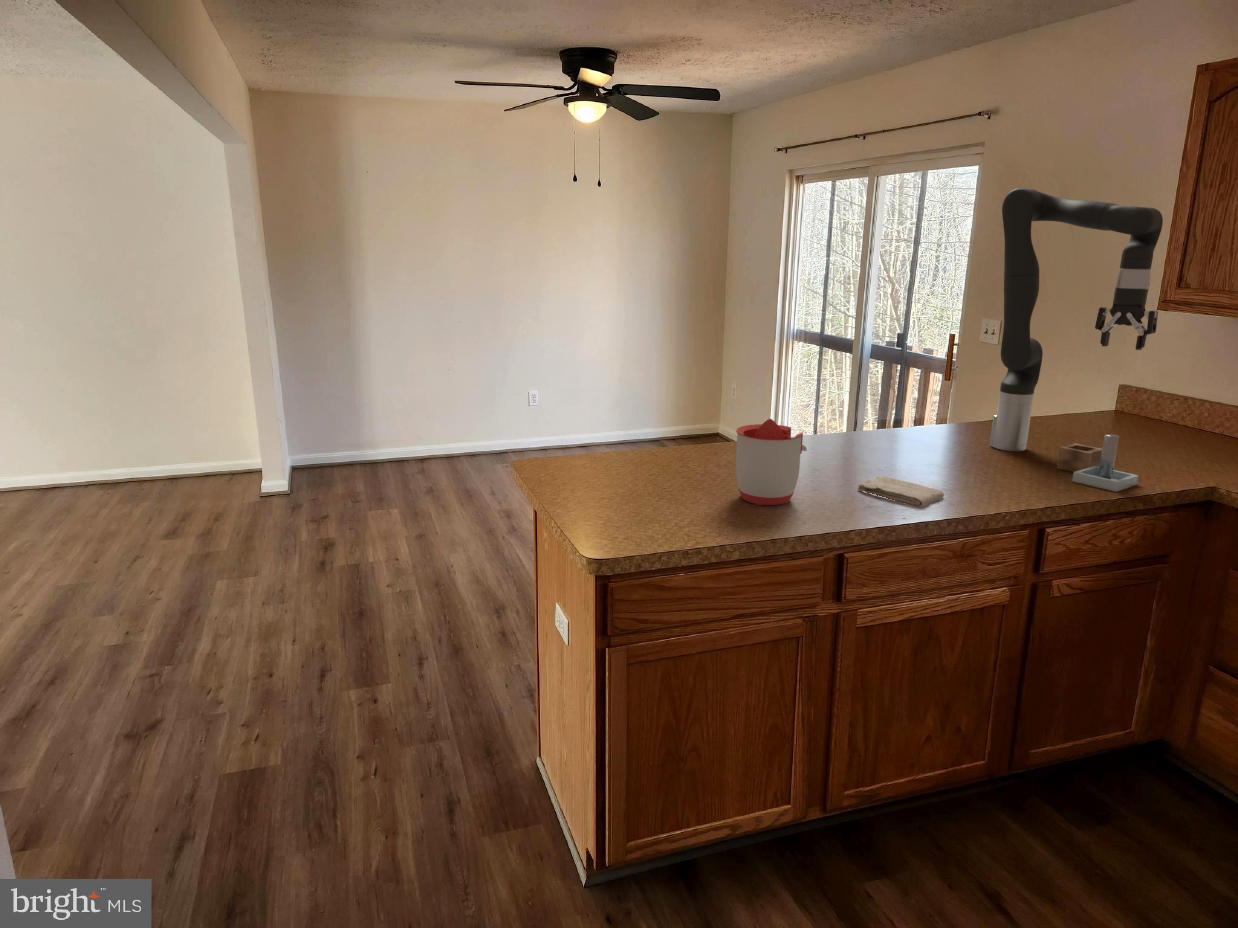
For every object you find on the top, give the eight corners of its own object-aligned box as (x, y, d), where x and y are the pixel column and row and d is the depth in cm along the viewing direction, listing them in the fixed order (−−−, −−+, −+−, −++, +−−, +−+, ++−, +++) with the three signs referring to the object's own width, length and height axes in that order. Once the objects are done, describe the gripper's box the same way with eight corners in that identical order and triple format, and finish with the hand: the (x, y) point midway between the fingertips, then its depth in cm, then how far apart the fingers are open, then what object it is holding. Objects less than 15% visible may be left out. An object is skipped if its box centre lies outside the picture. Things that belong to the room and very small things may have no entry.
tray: (1072, 481, 213) (1073, 472, 212) (1092, 474, 219) (1094, 465, 218) (1116, 491, 204) (1118, 482, 203) (1136, 484, 210) (1138, 475, 209)
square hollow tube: (1056, 468, 225) (1059, 447, 223) (1071, 463, 229) (1074, 443, 228) (1086, 474, 219) (1089, 453, 217) (1100, 470, 223) (1104, 449, 221)
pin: (1094, 480, 212) (1102, 435, 209) (1100, 478, 213) (1108, 433, 210) (1107, 482, 209) (1115, 437, 206) (1113, 481, 211) (1121, 436, 208)
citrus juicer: (817, 505, 192) (823, 423, 187) (750, 512, 187) (754, 427, 182) (785, 486, 206) (790, 410, 201) (722, 492, 202) (726, 413, 196)
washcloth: (879, 484, 211) (880, 472, 210) (945, 500, 198) (947, 488, 198) (854, 493, 203) (855, 481, 202) (922, 510, 191) (923, 497, 190)
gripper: (1097, 285, 217) (1087, 346, 222) (1155, 288, 206) (1143, 352, 211) (1110, 284, 222) (1100, 344, 226) (1168, 287, 210) (1156, 350, 215)
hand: (1121, 348), depth 218 cm, fingers open, 8 cm apart
